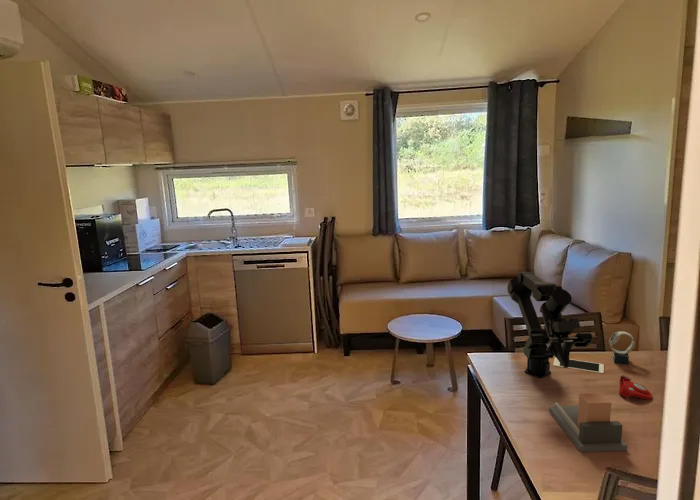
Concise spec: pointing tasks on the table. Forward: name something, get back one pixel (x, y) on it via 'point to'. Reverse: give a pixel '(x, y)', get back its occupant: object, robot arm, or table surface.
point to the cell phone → (582, 365)
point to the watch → (620, 355)
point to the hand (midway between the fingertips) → (566, 367)
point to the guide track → (575, 438)
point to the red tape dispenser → (632, 389)
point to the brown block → (593, 408)
